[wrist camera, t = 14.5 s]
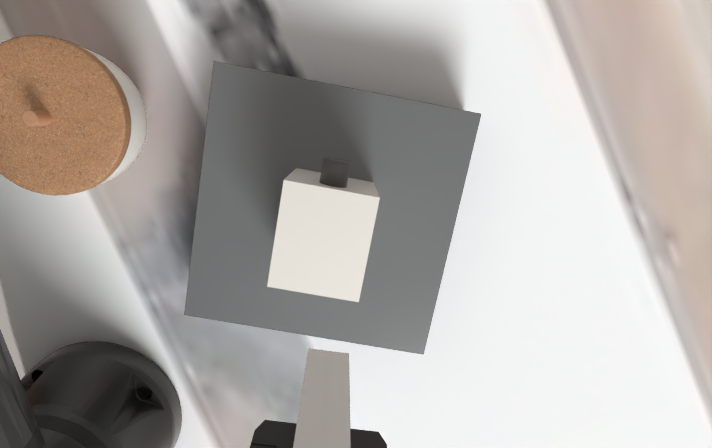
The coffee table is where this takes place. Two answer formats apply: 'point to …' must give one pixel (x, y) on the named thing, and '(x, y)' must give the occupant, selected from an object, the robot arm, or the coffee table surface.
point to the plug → (323, 232)
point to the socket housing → (306, 151)
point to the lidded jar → (65, 116)
